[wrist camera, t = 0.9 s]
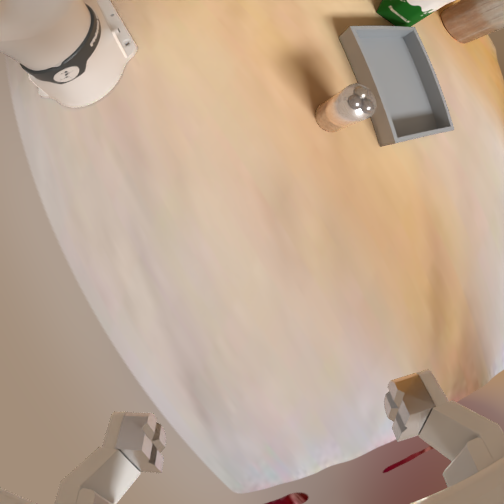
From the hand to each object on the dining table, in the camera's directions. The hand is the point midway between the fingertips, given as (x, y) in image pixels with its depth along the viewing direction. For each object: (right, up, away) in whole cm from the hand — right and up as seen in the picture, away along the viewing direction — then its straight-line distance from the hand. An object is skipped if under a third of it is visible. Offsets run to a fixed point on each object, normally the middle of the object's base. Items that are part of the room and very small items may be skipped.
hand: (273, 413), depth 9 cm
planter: (+49, +61, +38) cm, 87 cm away
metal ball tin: (+12, +28, +38) cm, 49 cm away
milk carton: (+29, +56, +36) cm, 72 cm away
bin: (+26, +37, +38) cm, 59 cm away
